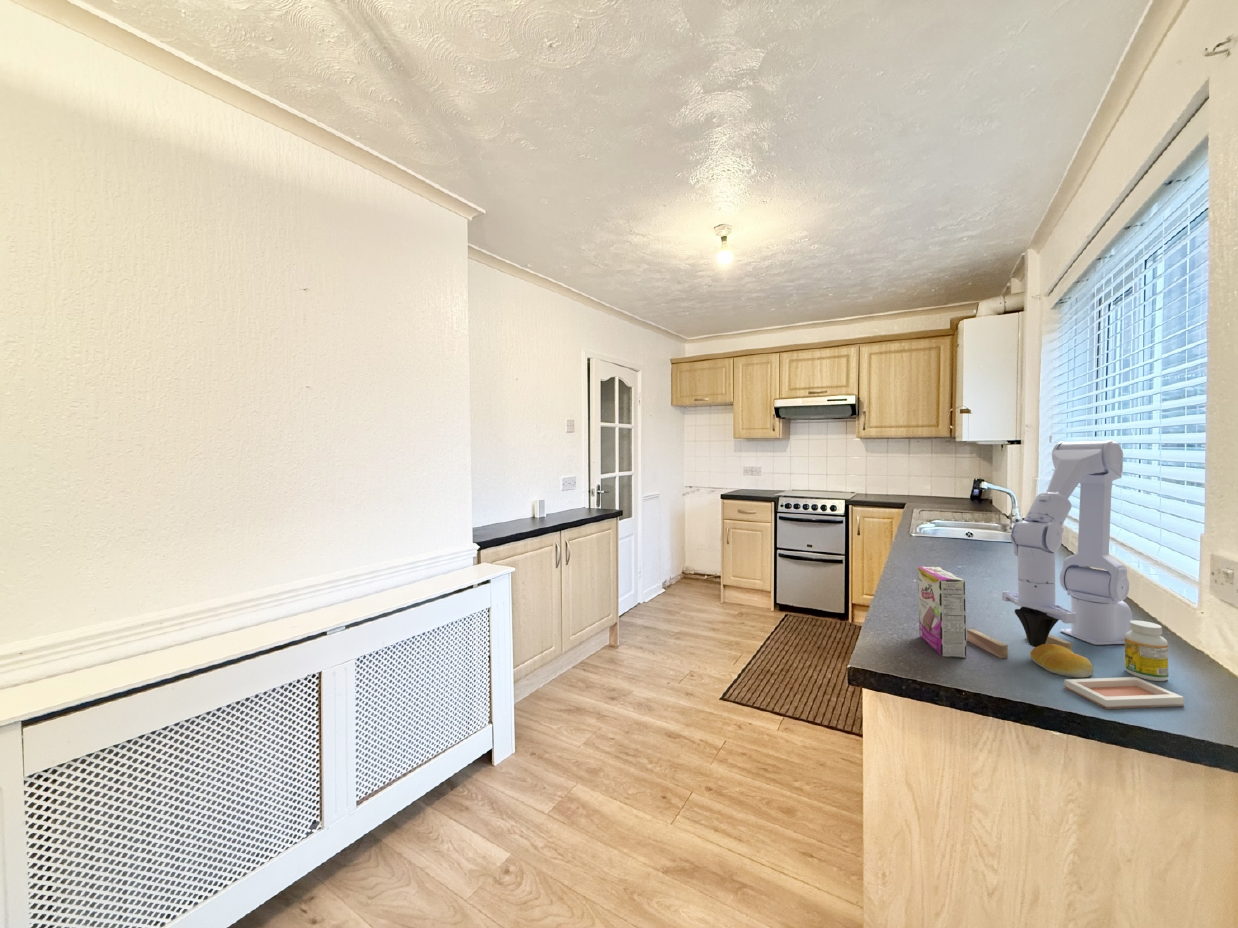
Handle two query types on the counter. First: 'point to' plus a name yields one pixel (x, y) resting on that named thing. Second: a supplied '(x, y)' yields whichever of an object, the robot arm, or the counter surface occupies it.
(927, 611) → the candy bar box
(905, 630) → the counter surface
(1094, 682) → the tray
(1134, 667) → the supplement bottle
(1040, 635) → the robot arm
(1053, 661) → the bread roll
